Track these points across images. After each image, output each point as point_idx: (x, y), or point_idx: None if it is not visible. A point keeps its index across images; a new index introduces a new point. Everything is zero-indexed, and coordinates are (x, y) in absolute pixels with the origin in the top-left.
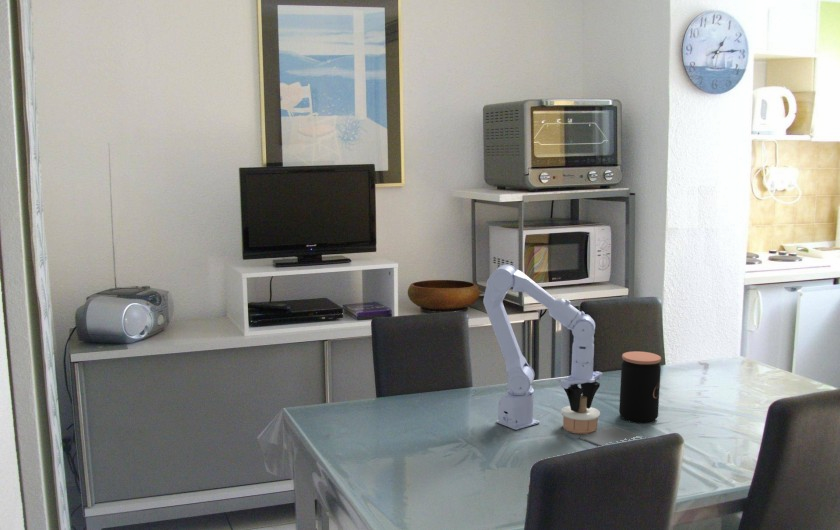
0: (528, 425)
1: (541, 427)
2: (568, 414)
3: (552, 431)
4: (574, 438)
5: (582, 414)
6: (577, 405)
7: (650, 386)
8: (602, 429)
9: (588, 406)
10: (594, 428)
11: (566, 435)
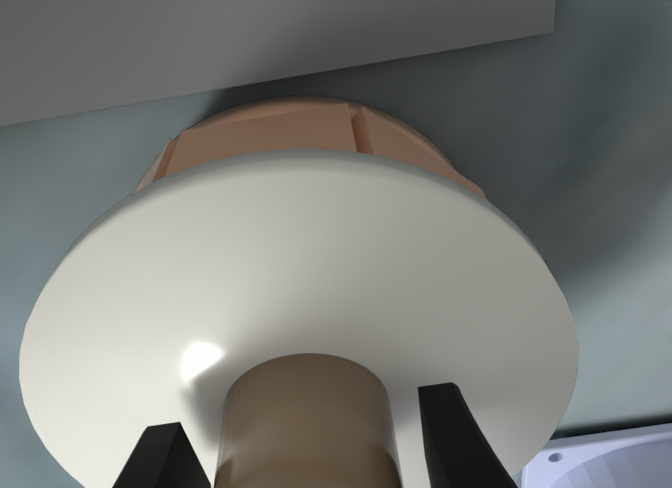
0: (664, 429)
1: (583, 385)
2: (546, 382)
3: (592, 294)
4: (589, 49)
5: (375, 322)
6: (498, 470)
7: None
8: (99, 108)
9: (174, 454)
10: (228, 125)
11: (578, 164)
